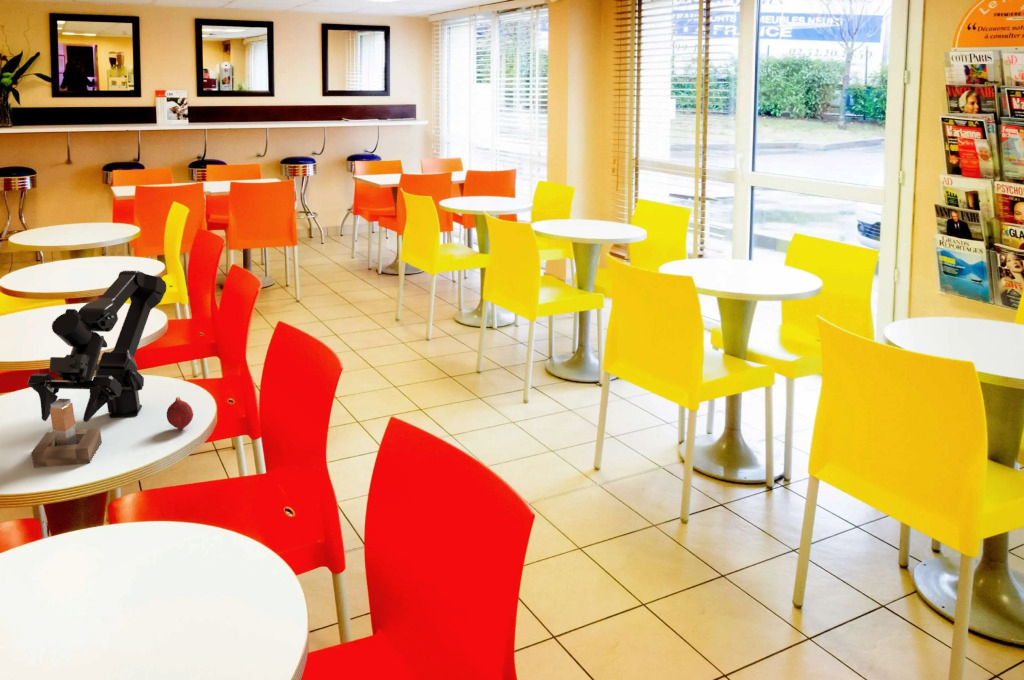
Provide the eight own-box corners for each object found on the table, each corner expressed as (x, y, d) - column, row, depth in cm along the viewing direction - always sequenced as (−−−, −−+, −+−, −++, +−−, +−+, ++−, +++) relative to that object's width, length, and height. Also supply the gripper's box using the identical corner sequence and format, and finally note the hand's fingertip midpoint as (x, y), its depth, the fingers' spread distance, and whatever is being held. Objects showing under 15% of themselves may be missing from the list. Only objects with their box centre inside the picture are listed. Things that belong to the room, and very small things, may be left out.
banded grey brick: (67, 451, 188) (59, 398, 185) (79, 451, 188) (71, 398, 185) (57, 458, 185) (48, 404, 181) (70, 458, 185) (61, 405, 181)
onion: (199, 429, 201) (195, 397, 198) (175, 436, 197) (171, 403, 194) (187, 422, 204) (183, 391, 202) (164, 429, 200) (160, 397, 198)
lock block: (101, 442, 193) (99, 428, 192) (89, 462, 183) (87, 447, 182) (49, 446, 191) (46, 432, 190) (33, 467, 180) (31, 452, 179)
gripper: (24, 339, 185) (1, 405, 178) (108, 340, 184) (88, 407, 177) (51, 361, 195) (30, 425, 188) (130, 363, 194) (112, 427, 187)
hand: (64, 420), depth 185 cm, fingers open, 9 cm apart
